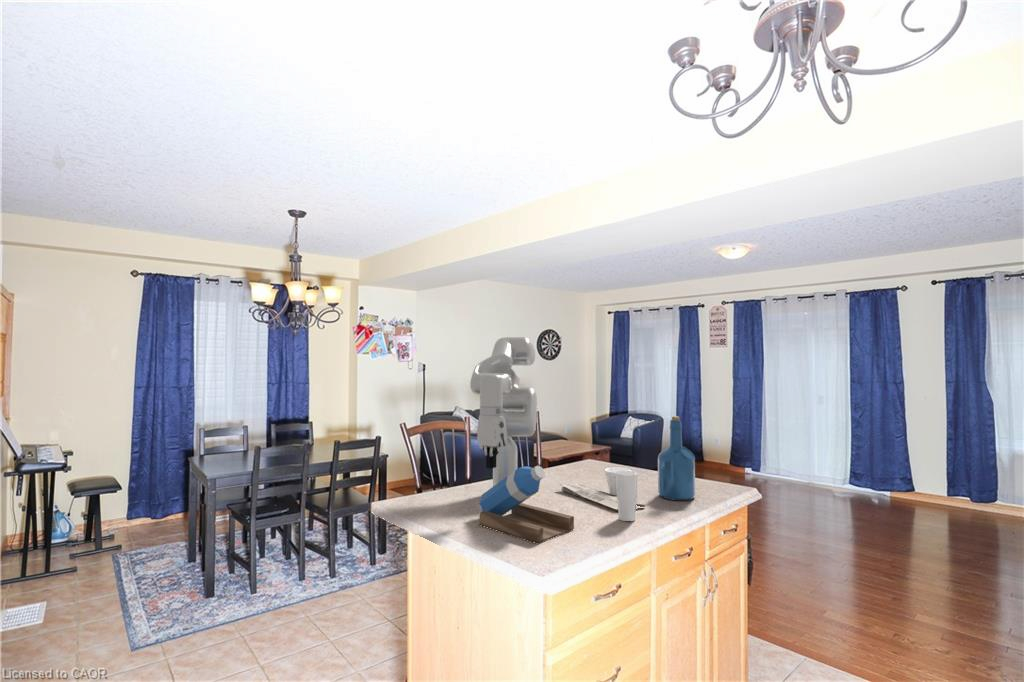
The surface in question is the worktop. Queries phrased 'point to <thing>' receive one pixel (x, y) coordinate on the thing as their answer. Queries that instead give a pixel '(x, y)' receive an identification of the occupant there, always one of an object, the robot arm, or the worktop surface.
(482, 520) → the u rest
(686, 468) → the wine bottle
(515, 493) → the water bottle
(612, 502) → the newspaper
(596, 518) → the worktop surface
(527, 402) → the robot arm
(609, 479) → the cup
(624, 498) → the drinking glass
